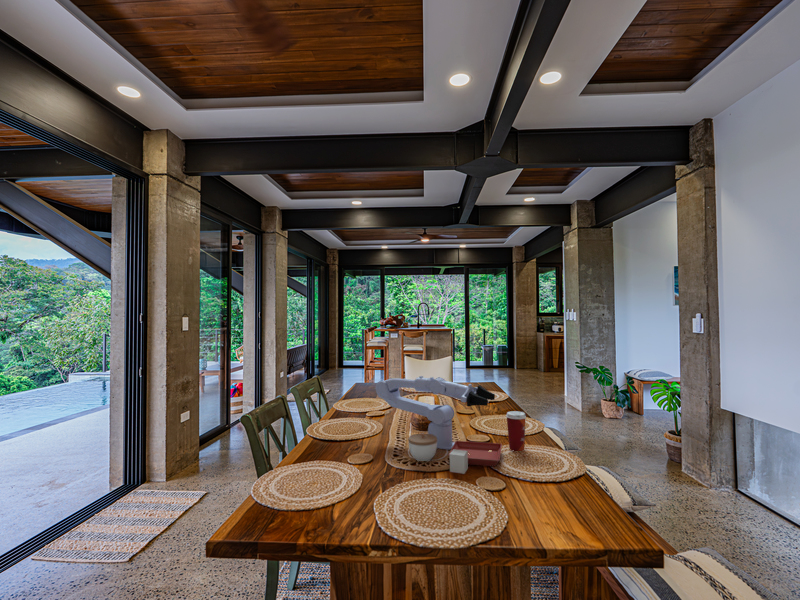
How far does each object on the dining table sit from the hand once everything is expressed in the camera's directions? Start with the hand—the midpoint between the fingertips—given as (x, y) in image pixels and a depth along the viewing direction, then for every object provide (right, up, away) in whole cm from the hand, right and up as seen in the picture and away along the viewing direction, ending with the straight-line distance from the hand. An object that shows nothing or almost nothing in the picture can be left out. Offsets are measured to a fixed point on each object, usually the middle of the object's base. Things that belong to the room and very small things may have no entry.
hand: (491, 400), depth 151 cm
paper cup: (+11, -21, +5) cm, 24 cm away
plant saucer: (-6, -21, -3) cm, 22 cm away
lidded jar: (-26, -21, -3) cm, 34 cm away
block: (-14, -20, -14) cm, 29 cm away
